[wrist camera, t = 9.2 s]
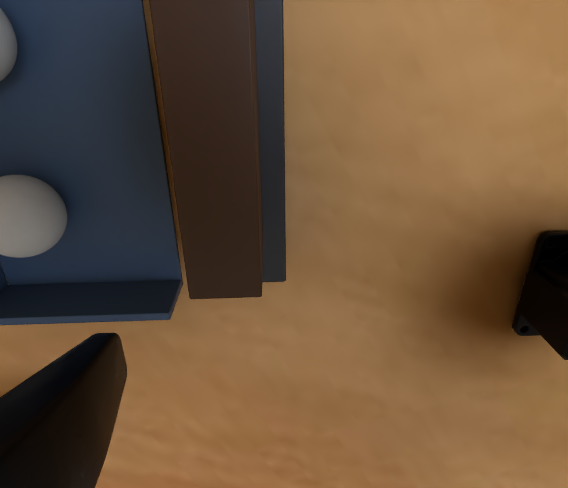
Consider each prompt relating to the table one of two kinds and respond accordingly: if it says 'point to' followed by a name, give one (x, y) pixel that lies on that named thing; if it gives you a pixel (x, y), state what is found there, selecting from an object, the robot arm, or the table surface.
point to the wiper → (225, 139)
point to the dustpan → (88, 165)
